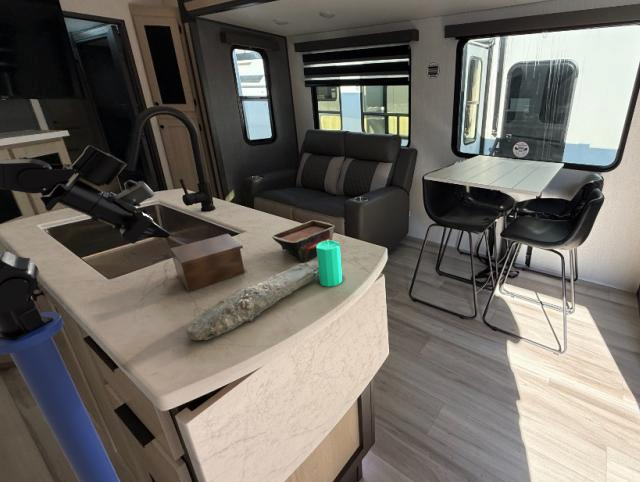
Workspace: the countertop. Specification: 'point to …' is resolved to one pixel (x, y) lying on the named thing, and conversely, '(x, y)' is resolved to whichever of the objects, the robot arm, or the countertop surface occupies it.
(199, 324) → the elongated rock
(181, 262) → the chest lid
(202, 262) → the chest
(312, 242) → the baking dish
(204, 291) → the countertop surface
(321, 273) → the candle
